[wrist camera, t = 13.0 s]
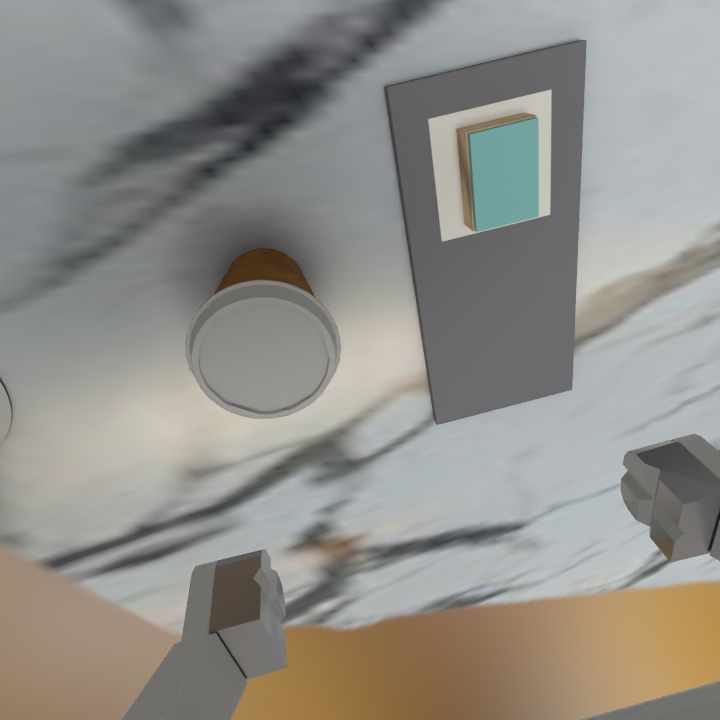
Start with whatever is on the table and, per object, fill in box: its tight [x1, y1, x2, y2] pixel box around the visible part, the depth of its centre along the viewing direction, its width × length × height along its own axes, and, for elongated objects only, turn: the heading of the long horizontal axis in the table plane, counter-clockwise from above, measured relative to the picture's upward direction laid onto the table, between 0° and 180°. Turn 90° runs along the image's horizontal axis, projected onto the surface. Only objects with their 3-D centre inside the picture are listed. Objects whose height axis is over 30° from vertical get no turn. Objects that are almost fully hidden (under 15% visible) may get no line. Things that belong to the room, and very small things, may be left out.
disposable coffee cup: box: [186, 249, 341, 419], centre depth 35 cm, size 10×10×12 cm
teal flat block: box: [456, 113, 539, 232], centre depth 36 cm, size 7×5×2 cm
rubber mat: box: [385, 40, 586, 425], centre depth 42 cm, size 14×30×1 cm, turn 11°
